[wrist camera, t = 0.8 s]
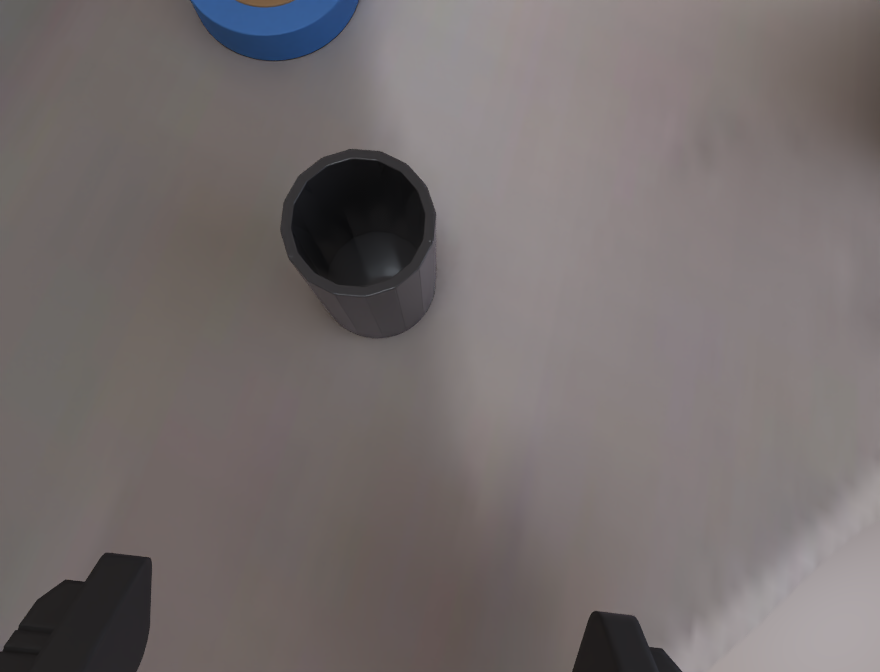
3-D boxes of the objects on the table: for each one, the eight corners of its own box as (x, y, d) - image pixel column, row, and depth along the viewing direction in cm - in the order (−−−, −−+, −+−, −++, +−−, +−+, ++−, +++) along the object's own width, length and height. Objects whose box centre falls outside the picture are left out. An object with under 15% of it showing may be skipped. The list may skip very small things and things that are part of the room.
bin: (386, 205, 39) (368, 120, 29) (459, 288, 38) (466, 230, 28) (297, 275, 38) (250, 212, 29) (370, 361, 38) (346, 328, 28)
